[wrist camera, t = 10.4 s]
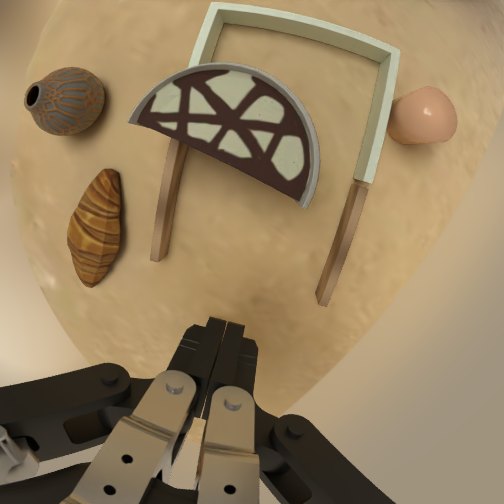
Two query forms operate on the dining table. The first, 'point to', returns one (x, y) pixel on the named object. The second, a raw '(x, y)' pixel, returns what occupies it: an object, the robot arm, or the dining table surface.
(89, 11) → the dining table surface
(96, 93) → the vase
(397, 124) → the tan rounded piece
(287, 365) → the dining table surface
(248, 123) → the food container
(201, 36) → the bay
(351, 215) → the brown flat strips
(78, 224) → the croissant
